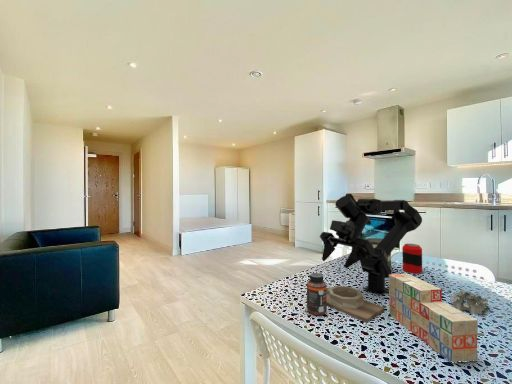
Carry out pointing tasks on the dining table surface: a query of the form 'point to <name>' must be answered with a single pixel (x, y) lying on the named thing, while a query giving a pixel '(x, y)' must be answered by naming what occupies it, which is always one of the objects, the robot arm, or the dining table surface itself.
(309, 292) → the supplement bottle
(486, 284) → the dining table surface
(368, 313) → the collar board
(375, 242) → the coffee can
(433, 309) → the stack of blocks
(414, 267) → the soda can
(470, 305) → the egg carton
